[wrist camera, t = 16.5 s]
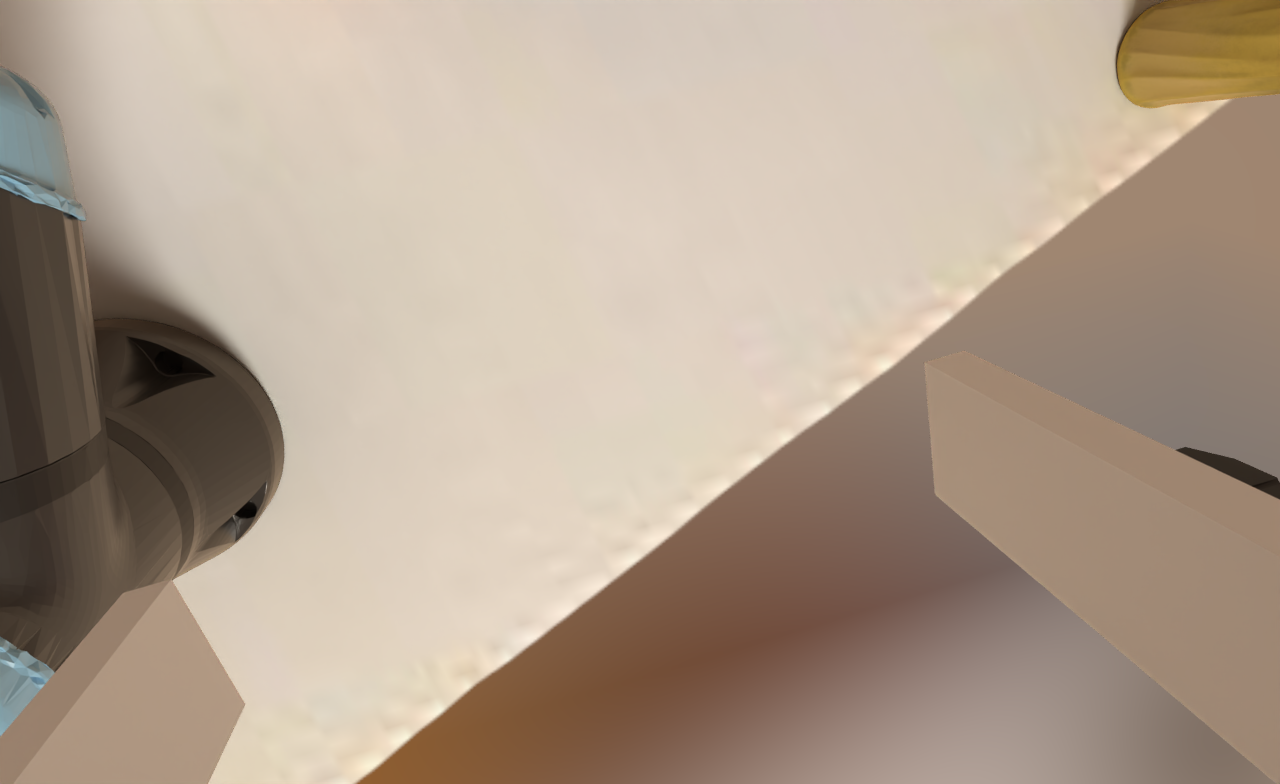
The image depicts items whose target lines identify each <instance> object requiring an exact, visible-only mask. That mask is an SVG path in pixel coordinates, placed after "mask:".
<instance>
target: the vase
mask: <svg viewBox="0 0 1280 784" xmlns="http://www.w3.org/2000/svg"><path fill="white" fill-rule="evenodd" d="M1117 73H1118V80H1119V85H1120V87H1121V90H1122V92H1123V93H1124V95H1125V96H1126V97H1127V98H1128V99H1129V100H1130V101H1131V102H1132V103H1133V104H1135V105H1138V106H1140V107H1144V108H1158V107H1162V106H1166V105H1171V104H1182V103H1193V102H1203V101H1214V100H1224V99H1233V98H1242V97H1251V96H1264V95H1275V94H1280V0H1168V1H1164V2H1162V3H1159V4H1157V5H1155V6H1153V7H1151V8H1149V9H1147V10H1146V11H1145V12H1143V13H1142V14H1141V15H1140V16H1139V17H1138V18H1137V19H1136V20H1135V21H1134V23H1133V24H1132V25H1131V27H1130V28H1129V30H1128V31H1127V33H1126V35H1125V37H1124V39H1123V42H1122V44H1121V47H1120V50H1119V54H1118V59H1117Z"/></svg>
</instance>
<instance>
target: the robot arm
mask: <svg viewBox="0 0 1280 784" xmlns="http://www.w3.org/2000/svg"><path fill="white" fill-rule="evenodd" d="M81 221H86V213H85V210H84V209H83V207H82V206H81V204H80V203H78V202H77V201H76V198H75V192H74V187H73V182H72V177H71V171H70V166H69V161H68V156H67V151H66V145H65V140H64V135H63V130H62V126H61V122H60V119H59V117H58V115H57V113H56V111H55V109H54V107H53V106H52V104H51V103H50V102H49V100H48V99H47V98H46V97H45V96H44V94H43V93H42V92H41V91H40V90H39V89H37V88H36V87H35V86H34V85H33V84H31V83H30V82H29V81H27V80H26V79H24V78H23V77H21V76H20V75H18V74H17V73H15V72H13V71H11V70H9V69H7V68H5V67H2V66H0V784H208V782H209V780H210V778H211V776H212V774H213V772H214V770H215V767H216V765H217V763H218V761H219V759H220V757H221V755H222V753H223V750H224V748H225V746H226V744H227V742H228V740H229V738H230V736H231V733H232V731H233V729H234V727H235V725H236V723H237V721H238V719H239V716H240V714H241V712H242V710H243V708H244V706H245V703H244V701H243V700H242V698H241V696H240V695H239V693H238V691H237V690H236V688H235V686H234V684H233V683H232V681H231V679H230V678H229V676H228V674H227V673H226V671H225V669H224V667H223V666H222V664H221V662H220V661H219V659H218V657H217V656H216V654H215V652H214V651H213V649H212V647H211V645H210V644H209V642H208V640H207V639H206V637H205V635H204V634H203V632H202V630H201V629H200V627H199V625H198V623H197V622H196V620H195V618H194V617H193V615H192V613H191V612H190V610H189V608H188V606H187V605H186V603H185V601H184V600H183V598H182V596H181V595H180V593H179V591H178V590H177V588H176V586H175V584H174V583H173V579H175V578H177V577H179V576H180V575H182V574H184V573H186V572H188V571H190V570H192V569H193V568H195V567H197V566H199V565H201V564H203V563H205V562H206V561H208V560H210V559H212V558H214V557H216V556H217V555H219V554H221V553H223V552H224V551H226V550H227V549H229V548H230V547H231V546H233V545H234V544H235V543H237V542H238V541H239V540H240V539H241V538H242V537H243V536H244V535H245V534H246V533H248V531H249V530H250V529H251V528H252V527H253V526H254V525H255V523H256V522H257V521H258V519H259V518H260V516H261V515H262V513H263V512H264V510H265V509H266V507H267V506H268V504H269V503H270V501H271V500H272V498H273V496H274V494H275V492H276V490H277V488H278V485H279V482H280V479H281V476H282V471H283V465H284V441H283V435H282V431H281V426H280V423H279V420H278V417H277V415H276V412H275V410H274V408H273V406H272V404H271V402H270V400H269V399H268V397H267V395H266V394H265V392H264V391H263V389H262V388H261V387H260V385H259V384H258V383H257V381H256V380H255V379H254V378H253V377H252V376H251V374H250V373H249V372H248V371H247V370H246V369H245V368H244V367H243V366H241V365H240V364H239V363H238V362H237V361H236V360H234V359H233V358H232V357H231V356H230V355H228V354H227V353H225V352H224V351H222V350H221V349H220V348H218V347H216V346H215V345H213V344H211V343H210V342H208V341H206V340H204V339H202V338H200V337H198V336H196V335H193V334H191V333H189V332H186V331H184V330H181V329H178V328H175V327H172V326H168V325H164V324H160V323H156V322H150V321H144V320H136V319H103V320H95V321H93V314H92V306H91V298H90V290H89V282H88V274H87V265H86V257H85V249H84V241H83V233H82V225H81ZM924 365H925V378H926V390H927V401H928V415H929V427H930V439H931V452H932V464H933V476H934V489H935V495H936V496H937V497H938V498H940V499H941V500H942V501H943V502H944V503H945V504H947V505H948V506H949V507H950V508H951V509H953V510H954V511H955V512H956V513H957V514H958V515H960V516H961V517H962V518H963V519H964V520H965V521H967V522H968V523H969V524H970V525H971V526H973V527H974V528H975V529H976V530H977V531H978V532H980V533H981V534H982V535H983V536H984V537H986V538H987V539H988V540H989V541H990V542H992V543H993V544H994V545H995V546H996V547H997V548H999V549H1000V550H1001V551H1002V552H1003V553H1005V554H1006V555H1007V556H1008V557H1009V558H1010V559H1012V560H1013V561H1014V562H1015V563H1016V564H1017V565H1019V566H1020V567H1021V568H1022V569H1023V570H1025V571H1026V572H1027V573H1028V574H1029V575H1031V576H1032V577H1033V578H1034V579H1035V580H1036V581H1037V582H1039V583H1040V584H1041V585H1042V586H1044V587H1045V588H1046V589H1047V590H1048V591H1049V592H1051V593H1052V594H1053V595H1054V596H1055V597H1056V598H1058V599H1059V600H1060V601H1061V602H1062V603H1064V604H1065V605H1066V606H1067V607H1068V608H1070V609H1071V610H1072V611H1073V612H1074V613H1075V614H1077V615H1078V616H1079V617H1080V618H1081V619H1082V620H1084V621H1085V622H1086V623H1087V624H1088V625H1089V626H1091V627H1092V628H1093V629H1094V630H1095V631H1097V632H1098V633H1099V634H1100V635H1101V636H1103V637H1104V638H1105V639H1106V640H1107V641H1108V642H1110V643H1111V644H1112V645H1113V646H1114V647H1115V648H1117V649H1118V650H1119V651H1120V652H1121V653H1123V654H1124V655H1125V656H1126V657H1127V658H1129V659H1130V660H1131V661H1132V662H1133V663H1134V664H1135V665H1137V666H1138V667H1139V668H1141V670H1143V671H1144V672H1145V673H1146V674H1147V675H1149V676H1150V677H1151V678H1152V679H1153V680H1154V681H1156V682H1157V683H1158V684H1159V685H1161V686H1162V687H1163V688H1164V689H1165V690H1166V691H1167V692H1169V693H1170V694H1171V695H1172V696H1173V697H1174V698H1176V699H1177V700H1178V701H1179V702H1180V703H1182V704H1183V705H1184V706H1185V707H1186V708H1188V709H1189V710H1190V711H1191V712H1192V713H1193V714H1195V715H1196V716H1197V717H1198V718H1199V719H1200V720H1202V721H1203V722H1204V723H1205V724H1206V725H1208V726H1209V727H1210V728H1211V729H1212V730H1213V731H1215V732H1216V733H1217V734H1218V735H1220V736H1221V737H1222V738H1223V739H1224V740H1225V741H1226V742H1228V743H1229V744H1230V745H1231V746H1232V747H1234V748H1235V749H1236V750H1237V751H1238V752H1239V753H1241V754H1242V755H1243V756H1244V757H1245V758H1246V759H1248V760H1249V761H1250V762H1251V763H1252V764H1254V765H1255V766H1256V767H1257V768H1258V769H1260V770H1261V771H1262V772H1263V773H1264V774H1265V775H1267V776H1268V777H1269V778H1270V779H1271V780H1272V781H1274V782H1275V783H1276V784H1280V482H1279V481H1278V479H1277V477H1274V476H1272V475H1270V474H1267V473H1265V472H1263V471H1261V470H1258V469H1256V468H1254V467H1252V466H1250V465H1247V464H1245V463H1243V462H1241V461H1238V460H1236V459H1233V458H1229V457H1225V456H1221V455H1216V454H1212V453H1208V452H1204V451H1199V450H1195V449H1191V448H1187V447H1184V448H1181V449H1178V450H1173V449H1171V448H1169V447H1167V446H1165V445H1163V444H1161V443H1159V442H1157V441H1155V440H1152V439H1150V438H1148V437H1146V436H1144V435H1142V434H1140V433H1138V432H1135V431H1133V430H1131V429H1129V428H1127V427H1125V426H1123V425H1121V424H1119V423H1117V422H1114V421H1112V420H1110V419H1108V418H1106V417H1104V416H1102V415H1099V414H1097V413H1095V412H1093V411H1091V410H1089V409H1087V408H1085V407H1083V406H1080V405H1078V404H1076V403H1074V402H1072V401H1070V400H1067V399H1066V398H1063V397H1061V396H1059V395H1057V394H1055V393H1053V392H1051V391H1049V390H1046V389H1044V388H1042V387H1040V386H1038V385H1036V384H1034V383H1032V382H1030V381H1028V380H1025V379H1023V378H1021V377H1019V376H1017V375H1015V374H1013V373H1010V372H1009V371H1006V370H1004V369H1002V368H1000V367H998V366H996V365H994V364H991V363H989V362H987V361H985V360H983V359H981V358H979V357H977V356H975V355H972V354H971V353H968V352H966V351H961V352H958V353H954V354H951V355H947V356H944V357H940V358H937V359H934V360H930V361H927V362H925V363H924Z"/></svg>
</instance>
